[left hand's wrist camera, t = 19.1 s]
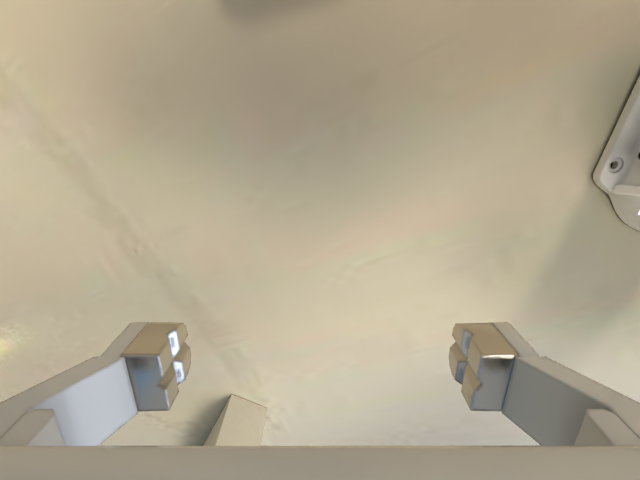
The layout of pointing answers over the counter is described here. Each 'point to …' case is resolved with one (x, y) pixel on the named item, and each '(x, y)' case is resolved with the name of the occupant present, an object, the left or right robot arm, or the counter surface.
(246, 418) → the box
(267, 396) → the counter surface
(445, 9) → the counter surface
